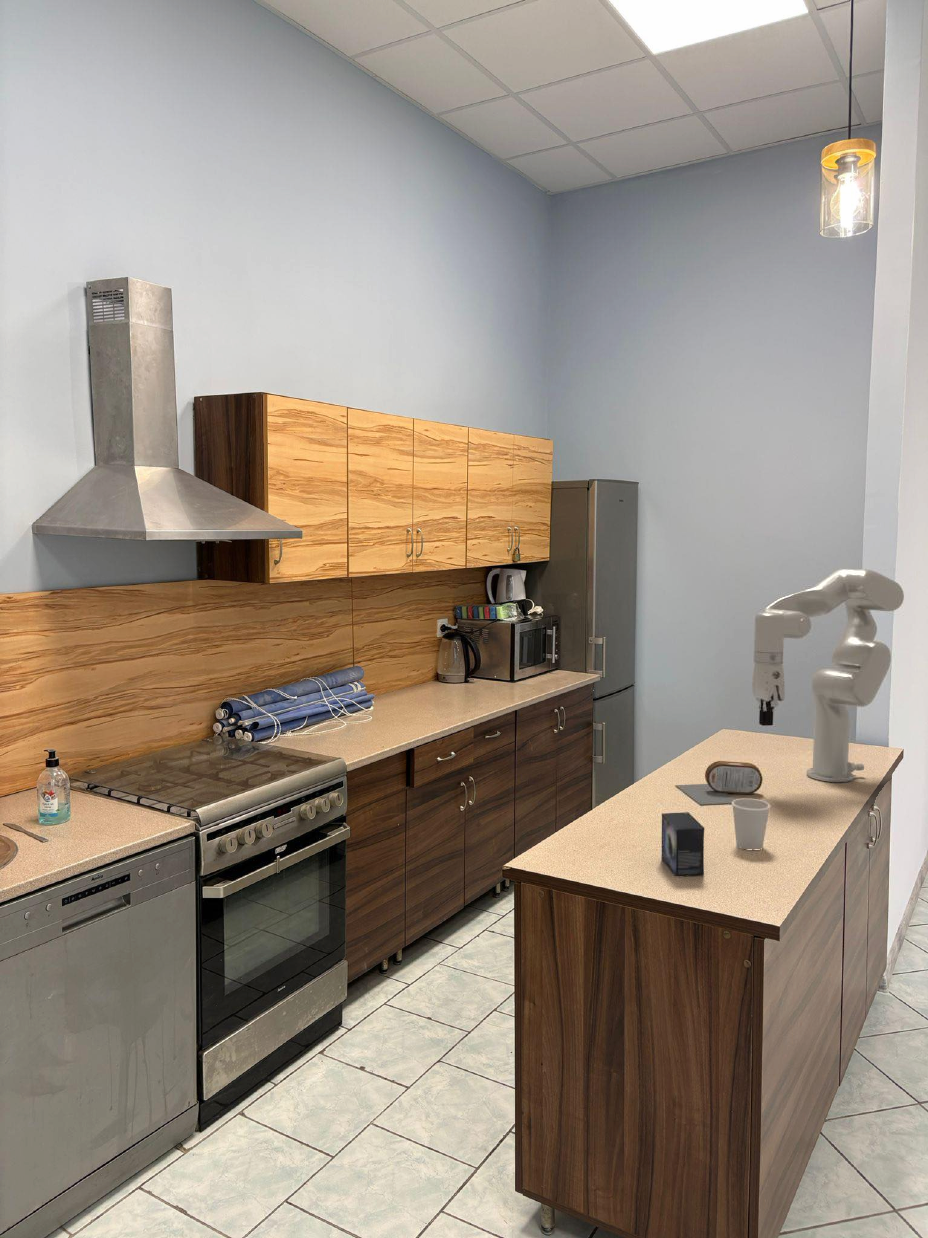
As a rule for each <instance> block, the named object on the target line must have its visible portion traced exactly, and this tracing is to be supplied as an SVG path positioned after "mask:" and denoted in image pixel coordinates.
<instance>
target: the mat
mask: <svg viewBox="0 0 928 1238" xmlns="http://www.w3.org/2000/svg"><path fill="white" fill-rule="evenodd" d="M674 786H675V787H676V788H677V789H678V790H679V791H681V792H682V793H684V794H685V795H686V796H687V797H689V799H691V800H692V801H694V802H695V803H696V804H698V805H699V806H714V805H715V806H717V805H732V801H734V800H736V798H734V797H733V796H731V794H730V793H722V792H717V791H714V790H713V789H712V788H711V787H710V786H709V785H708V783H695V784H676V785H674Z"/></svg>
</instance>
